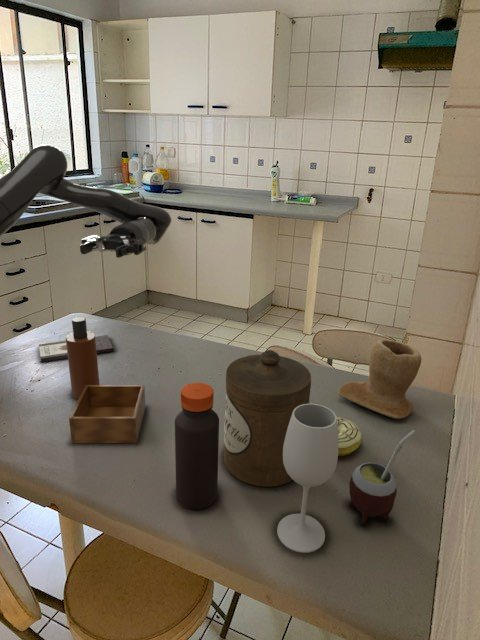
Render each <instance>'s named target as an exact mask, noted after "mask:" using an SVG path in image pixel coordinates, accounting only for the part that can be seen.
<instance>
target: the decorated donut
mask: <svg viewBox="0 0 480 640" xmlns="http://www.w3.org/2000/svg"><path fill="white" fill-rule="evenodd" d="M336 417H337V424H338V457H345V456H348V455H351V454H352V453H353V452H355V451H356V450H357V449H358V448H360V445H361V442H362V431H361V430H360V428H359V427H358V425H357V424H356V422H353V421H351V420H349V419H347V418H345V417H344V418H343V417H340V416H337V415H336Z"/></svg>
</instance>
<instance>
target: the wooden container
mask: <svg viewBox="0 0 480 640" xmlns="http://www.w3.org/2000/svg"><path fill="white" fill-rule="evenodd" d="M225 372H226V373H225V405H224V425H223V462H224V464H225V465H224V466H225V467H226V469H227V471H229V473H230V474H231V475H233V476H234V478H237V479H238V480H240V481H241V482H242V483H243V482H244V483H246V484H249V485H252V486H257V487H266V488H267V487H278V486H283V485H285V484H288V483H290V482H291V481H294V480H293V479H292V478H291V477H290V476H289V475H288V473H287V471H286V469H285V467H284V464H283V446H284V441H285V436H286V432H287V429H288V425H289V422H290V419H291V416H292V413H293V410H294V409H295V408H296V407H298V406H300V405H303V404H310V397H311V388H312V374H311V372H310V370H309V369H308V368H307V367H306V365H304V364H302V363H301V362H299V361H297V360H295V359H292V358H289V357H286V356H281V355H280V354H278V353H277V352H276V351H275V350H273V349H267V350H265V351H263V352H261V353H259V354H252V355H246V356H243V357H239V358H237V359H235V360H233V361H232V362H231V363H230V364H228V366H227V368H226V370H225Z"/></svg>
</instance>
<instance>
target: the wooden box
mask: <svg viewBox="0 0 480 640" xmlns="http://www.w3.org/2000/svg"><path fill="white" fill-rule="evenodd" d="M145 387H146V386H145V385H144V384H141V385H140V384H125V385H124V384H99V385H85V387H84V389H83V391H82V393H81V395H80V397H79V399H77V401H76V403H75V405H74V407H73V409H72V412H70V413H71V414H70V415H69V418H68V421H69V423H68V424H69V431H70V437H71V439H70V440H71V444H138V440H139V435H140V431H141V427H142V424H143V419H144V415H145V411H146V395H145V394H146V392H145Z"/></svg>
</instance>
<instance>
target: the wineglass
mask: <svg viewBox="0 0 480 640" xmlns="http://www.w3.org/2000/svg"><path fill="white" fill-rule="evenodd" d="M336 416H337V414H336V413H335V412H334V411H333V410H332V409H331V408H329V407H327V406H325V405H322V404H317V403H309V404H303V405H300V406H298V407H296V408H295V409H294V410H293V413H292V416H291V419H290V422H289V425H288V429H287V432H286V436H285V441H284V446H283V464H284V467H285V469H286V471H287V473H288V475H289V476H290V477H291V478H292V479H293V480H292V481H293V482H295V483H296V484H298V485H300V486H302V500H301V507H300V513H291V514H288V515H286V516H284V517H283V518H282V519H280V521H279V522H278V525H277V527H276V528H277V529H276V532H277V536H278V539H279V541H280V542H281V544H282V545H284V546H285V547H286V548H287V549H289V550H291V551H293V552H296V553H301V554H307V553H308V554H311V553H313V552H316V551H318V550H319V549H320V548H321V547H322V546H323V545H324V543H325V538H326V533H325V529H324V527H323V525H322V524H321V523H320V521H318V520H317V519H316V518H314V517H312V516H311V515H307V507H308V497H309V496H308V495H309V491H310V488H315V487H319V486H321V485H323V484H324V483H326V482H327V481H329V480H330V479H331V478H332V476H333V475H334V473H335V471H336V468H337V465H338V461H339V459H338V458H339V456H338V424H337V417H338V416H337V417H336Z"/></svg>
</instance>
